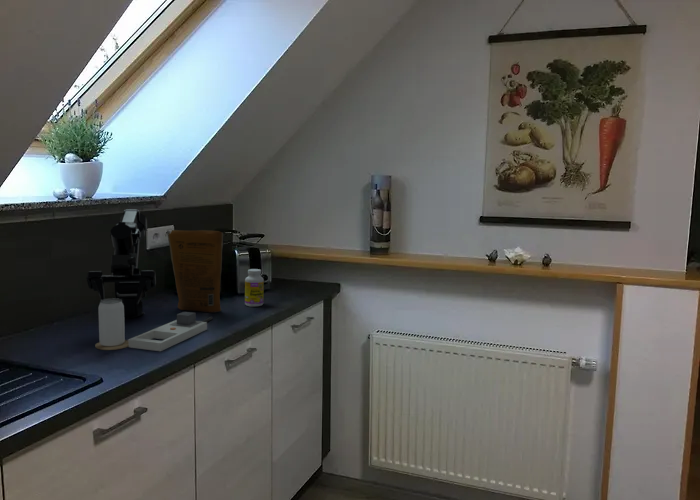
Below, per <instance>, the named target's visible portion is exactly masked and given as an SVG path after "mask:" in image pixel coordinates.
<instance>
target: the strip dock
mask: <svg viewBox="0 0 700 500" xmlns="http://www.w3.org/2000/svg"><path fill="white" fill-rule="evenodd" d="M207 330H208V322H203V320H196V322H195V323H192V324H190V325H183V324H177V319H175V320H173V321H170V322H168V323H165V324H163V325H160V326H157V327H155V328H153V329H151V330H148V331H146V332H142V333H141V334H138V335H135V336H133V337H130V338H129V339H127V340H128V341H129V346H128V348H131V349H138V350H139V349H140V350H148V351H156V352H163V351H164V350H167V349H169V348H170V347H173V346H175V345H177V344H179V343H181V342H183V341H186V340H188V339H190V338H192V337H195V336H196V335H198V334H201V333H203V332H204V331H207ZM156 339H159V340H156Z"/></svg>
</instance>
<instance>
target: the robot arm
mask: <svg viewBox="0 0 700 500" xmlns="http://www.w3.org/2000/svg"><path fill="white" fill-rule="evenodd" d="M147 231H148V219H147V216H146V215H144V214H143V213H141V211H140V209H137V208H129V209H128V208H125V209H124V210H123V214H122V215H120V221H118V223H116V224H115V225H114V226H112V227H111V229H110V235H109V237H110V239H111V241H112V247H113V248H114V251H113V252H114V253H113V254H112V255H111V257H110V273H111V274H109V275H107V274H103V271H102V270H89V271H88V272H87V273H86V278H85V279H86V282H87V285H88V288H89V289H90V290H93V291H94V292H97V293H98V296H99V298H100V301H101V300H104V299H106V298H105V288H104V287H105V286H104V285H105V283H114V295H115V299H121V300H122V303H123V305H124V318H127V319H134V318H137V317H140V316H143V315H145V311H143V302H142V299H143V298H145V297H147V294H146V293H147V291H150V290H152V289H153V288H156V287H157V277H156V271H155V270H153V269H151V270H150V269H147V270H146V269H144V270H142V269H141V271H140V269H139V267H138V264H139V255H140V254H139V251H140V242H141V241H142V240H143V239H144V238H145V235H146V232H147Z"/></svg>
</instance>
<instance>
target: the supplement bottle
mask: <svg viewBox="0 0 700 500" xmlns="http://www.w3.org/2000/svg"><path fill="white" fill-rule="evenodd" d="M247 275H248V276H247V277H245V279H244V305H245V306H246V307H250V308H251V307H256V308H257V307H261V306H263V304H264V289H265V288H264V287H265V285H264V283H265V282H264V280H265V279H264V277H263V276H261V275H262V269H260V268H259V269H258V268H250V269H248V270H247Z"/></svg>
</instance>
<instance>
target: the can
mask: <svg viewBox="0 0 700 500" xmlns="http://www.w3.org/2000/svg"><path fill="white" fill-rule="evenodd" d="M97 310H98V339H99V342H100V344H101V345H102V346H105V347H113V346H119V345H122V344H123V343H124V342H125V340H126V339H125V337H126V336H125V335H126V334H125V330H126V329H125V317H124V305H123V303H122V300H121V299H119V298H118V299H116V298H105V299H104V300H101V299H100V301H99V305H98V309H97Z"/></svg>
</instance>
